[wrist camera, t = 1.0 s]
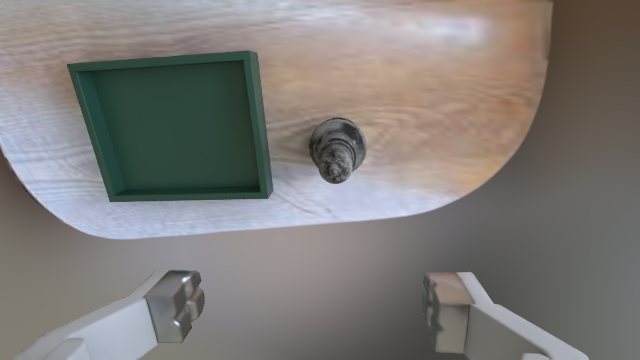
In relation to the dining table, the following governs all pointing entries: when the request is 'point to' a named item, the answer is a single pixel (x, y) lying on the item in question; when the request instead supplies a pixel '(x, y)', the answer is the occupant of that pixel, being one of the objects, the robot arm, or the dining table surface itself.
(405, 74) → the dining table surface
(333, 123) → the dark grey chess piece
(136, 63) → the tray
